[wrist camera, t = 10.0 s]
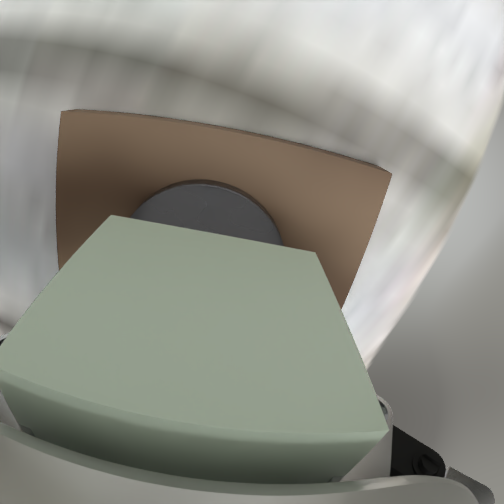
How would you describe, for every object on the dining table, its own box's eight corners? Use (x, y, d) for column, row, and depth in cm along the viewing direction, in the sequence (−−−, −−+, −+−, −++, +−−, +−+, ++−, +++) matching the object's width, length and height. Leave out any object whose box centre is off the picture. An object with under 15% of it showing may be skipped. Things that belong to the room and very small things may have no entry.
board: (259, 451, 24) (266, 559, 15) (97, 425, 22) (70, 530, 13) (378, 166, 14) (553, 286, 4) (77, 109, 12) (-122, 164, 2)
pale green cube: (265, 387, 12) (278, 530, 7) (114, 361, 11) (69, 498, 6) (315, 252, 9) (389, 429, 4) (110, 214, 9) (-12, 363, 3)
